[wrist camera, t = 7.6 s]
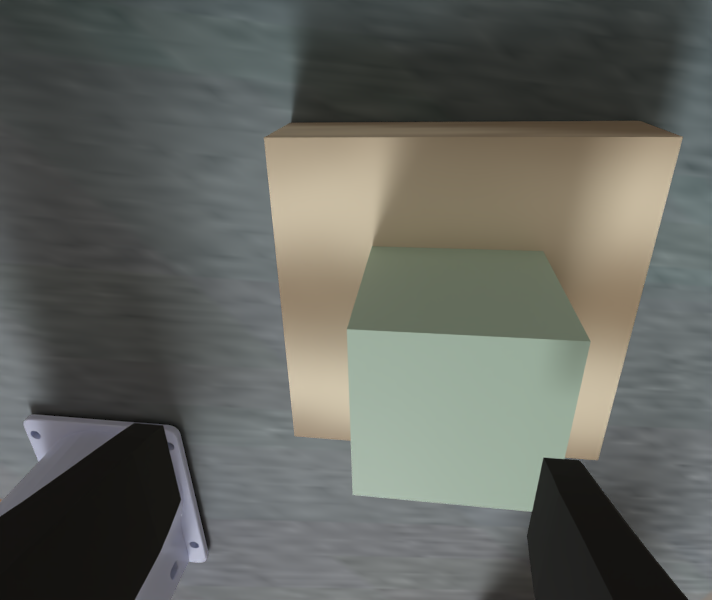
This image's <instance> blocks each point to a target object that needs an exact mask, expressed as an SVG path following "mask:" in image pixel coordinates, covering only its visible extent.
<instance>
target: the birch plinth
mask: <svg viewBox="0 0 712 600" xmlns="http://www.w3.org/2000/svg"><path fill="white" fill-rule="evenodd" d="M682 138H683V137H681V136H679V135H676V134H674V133H671V132H668V131H666V130H663V129H660V128H658V127H655V126H652V125H650V124H647V123H644V122H642V121H505V122H319V123H289V124H287V125H286V126H284V127H282V128H280V129H278V130H277V131H275V132H273V133H271V134H270V135H268V136H266V137H264V142H265V152H266V162H267V171H268V181H269V191H270V201H271V210H272V220H273V230H274V240H275V249H276V259H277V269H278V279H279V288H280V298H281V308H282V318H283V327H284V337H285V347H286V357H287V366H288V376H289V386H290V396H291V405H292V415H293V425H294V435H295V436H299V437H312V438H324V439H337V440H349V441H351V433H350V405H349V377H348V349H347V327H348V324H349V320H350V317H351V314H352V310H353V307H354V304H355V301H356V297H357V294H358V291H359V287H360V284H361V281H362V277H363V274H364V271H365V268H366V264H367V261H368V258H369V254H370V251H371V248H372V246H380V247H415V248H451V249H487V250H523V251H543V252H544V254H545V256H546V257H547V259H548V261H549V263H550V265H551V267H552V269H553V271H554V273H555V275H556V276H557V278H558V280H559V282H560V284H561V286H562V288H563V290H564V292H565V294H566V295H567V297H568V299H569V301H570V303H571V305H572V307H573V309H574V311H575V313H576V315H577V316H578V318H579V320H580V322H581V324H582V326H583V328H584V330H585V332H586V334H587V335H588V337H589V339H590V341H591V342H590V347H589V351H588V356H587V360H586V365H585V369H584V374H583V378H582V383H581V387H580V392H579V396H578V401H577V405H576V410H575V414H574V419H573V423H572V428H571V432H570V437H569V441H568V446H567V450H566V455H565V458H576V459H588V460H598V458H599V454H600V450H601V447H602V443H603V439H604V435H605V431H606V428H607V424H608V420H609V416H610V412H611V409H612V405H613V401H614V397H615V393H616V390H617V386H618V382H619V378H620V374H621V370H622V367H623V363H624V359H625V355H626V351H627V348H628V344H629V340H630V336H631V332H632V329H633V325H634V321H635V317H636V313H637V310H638V306H639V302H640V298H641V294H642V291H643V287H644V283H645V279H646V275H647V271H648V268H649V264H650V260H651V256H652V252H653V249H654V245H655V241H656V237H657V233H658V230H659V226H660V222H661V218H662V214H663V211H664V207H665V203H666V199H667V195H668V191H669V188H670V184H671V180H672V176H673V172H674V169H675V165H676V161H677V157H678V153H679V150H680V146H681V142H682Z"/></svg>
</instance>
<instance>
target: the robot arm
mask: <svg viewBox="0 0 712 600" xmlns="http://www.w3.org/2000/svg"><path fill="white" fill-rule="evenodd" d="M23 424H24V427H25V430H26V432H27V435H28V437H29V439H30V442H31V444H32V447H33V449H34V451H35V454H36V456H37V459H38V461H39V462H38V463H37V464H36V465H35V466H34V467H33V468H32V469H31V471H30V472H29V473H28V474H27V475H26V476H25V477H24V478H23V479H22V480H21V481H20V482H19V483H18V484H17V485H16V486H15V487H14V489H13V490H12V491H11V492H10V493H9V494H8V495H7V496H6V497H5V498H4V499H3V500H2V501H1V502H0V600H171V598H172V596H173V594H174V591H175V589H176V587H177V585H178V583H179V581H180V579H181V577H182V574H183V572H184V570H185V568H186V566H187V564H188V562H198V563H202V562H204V561H206V559H207V557H208V553H209V552H208V548H207V544H206V540H205V536H204V531H203V527H202V523H201V519H200V514H199V510H198V506H197V502H196V497H195V493H194V489H193V485H192V481H191V476H190V472H189V468H188V464H187V459H186V455H185V451H184V447H183V443H182V438H181V434H180V432H179V430H178V429H177V428H176V427H174V426H171V425H162V424H149V423H137V422H124V421H111V420H99V419H86V418H74V417H61V416H48V415H36V414H33V415H30V416H28V417H27V418H26V419H25V420H24V422H23ZM169 442H170V443H169ZM171 443H172V444H171ZM527 539H528V547H529V556H530V564H531V572H532V580H533V588H534V595H535V600H688V599H687V597H686V596H685V595H684V594H683V593H682V591H681V590H680V589H679V588H678V587H677V585H676V584H675V583H674V582H673V581H672V579H671V578H670V577H669V576H668V574H667V573H666V572H665V571H664V569H663V568H662V567H661V566H660V565H659V563H658V562H657V561H656V560H655V558H654V557H653V556H652V555H651V553H650V552H649V551H648V550H647V549H646V547H645V546H644V545H643V543H642V542H641V541H640V540H639V538H638V537H637V536H636V535H635V533H634V532H633V531H632V529H631V528H630V527H629V525H628V524H627V523H626V521H625V520H624V519H623V518H622V516H621V515H620V514H619V512H618V511H617V510H616V508H615V507H614V506H613V504H612V503H611V502H610V500H609V499H608V498H607V496H606V495H605V494H604V492H603V491H602V490H601V488H600V487H599V485H598V484H597V483H596V481H595V480H594V479H593V477H592V476H591V475H590V473H589V472H588V470H587V469H586V468H585V466H584V465H583V464H582V463H581V462H580V461H579V460H568V459H556V458H544V457H543V462H542V467H541V471H540V476H539V481H538V486H537V491H536V495H535V500H534V505H533V510H532V515H531V519H530V524H529V529H528V534H527Z"/></svg>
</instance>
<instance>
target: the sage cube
mask: <svg viewBox="0 0 712 600" xmlns="http://www.w3.org/2000/svg"><path fill="white" fill-rule="evenodd" d="M590 342H591V341H590V339H589V337H588V335H587V334H586V332H585V330H584V328H583V326H582V324H581V322H580V320H579V318H578V316H577V315H576V313H575V311H574V309H573V307H572V305H571V303H570V301H569V299H568V297H567V295H566V294H565V292H564V290H563V288H562V286H561V284H560V282H559V280H558V278H557V276H556V275H555V273H554V271H553V269H552V267H551V265H550V263H549V261H548V259H547V257H546V256H545V254H544V252H543V251H523V250H487V249H451V248H415V247H380V246H372V248H371V251H370V254H369V258H368V261H367V264H366V268H365V271H364V274H363V277H362V281H361V284H360V287H359V291H358V294H357V297H356V301H355V304H354V307H353V310H352V314H351V317H350V320H349V324H348V327H347V349H348V377H349V405H350V433H351V460H352V488H353V495H359V496H370V497H380V498H391V499H402V500H412V501H423V502H434V503H444V504H455V505H465V506H476V507H487V508H497V509H508V510H518V511H529V512H532V510H533V505H534V500H535V495H536V491H537V486H538V481H539V476H540V471H541V467H542V462H543V457H544V458H556V459H565V455H566V450H567V446H568V441H569V437H570V432H571V428H572V423H573V419H574V414H575V410H576V405H577V401H578V396H579V392H580V387H581V383H582V378H583V374H584V369H585V365H586V360H587V356H588V351H589V347H590Z"/></svg>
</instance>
